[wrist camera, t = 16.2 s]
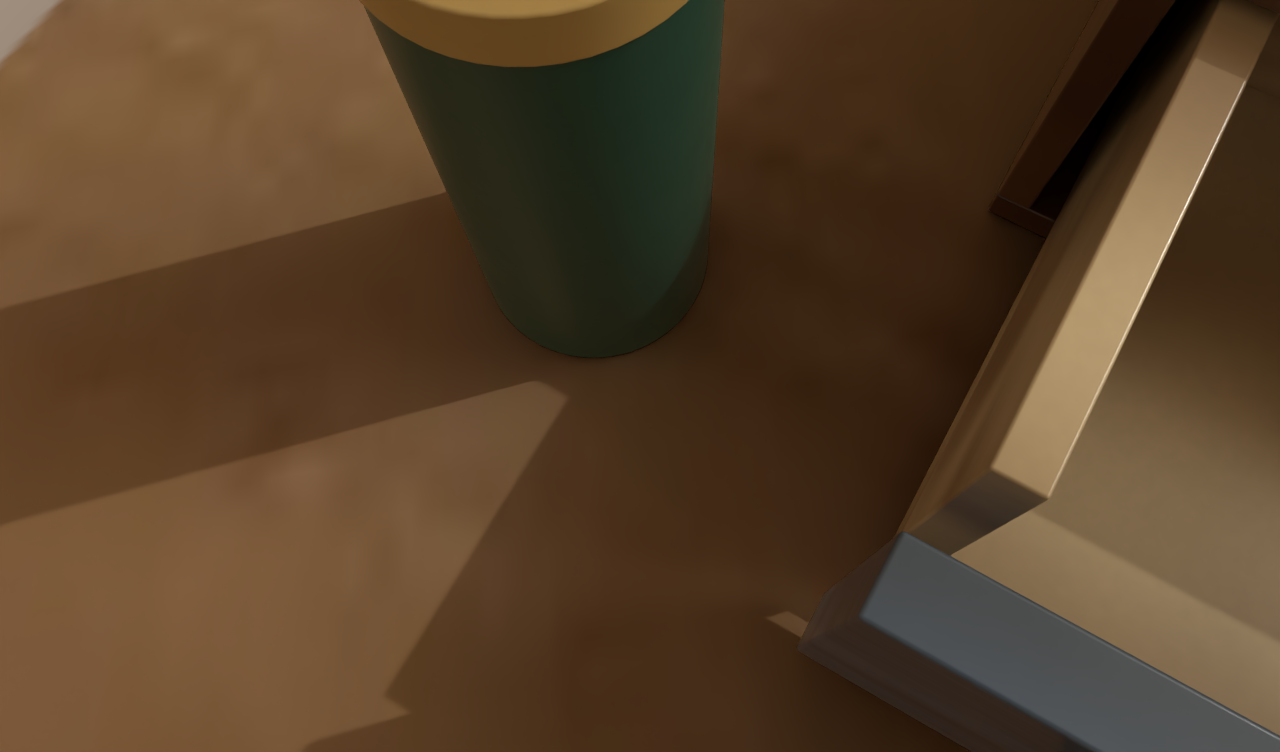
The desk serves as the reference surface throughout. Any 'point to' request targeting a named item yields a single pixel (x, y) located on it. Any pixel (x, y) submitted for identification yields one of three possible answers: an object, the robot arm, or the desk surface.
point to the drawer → (1111, 449)
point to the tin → (571, 152)
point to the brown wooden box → (1079, 110)
